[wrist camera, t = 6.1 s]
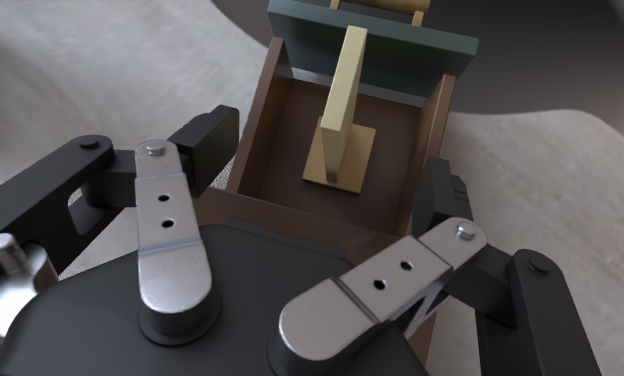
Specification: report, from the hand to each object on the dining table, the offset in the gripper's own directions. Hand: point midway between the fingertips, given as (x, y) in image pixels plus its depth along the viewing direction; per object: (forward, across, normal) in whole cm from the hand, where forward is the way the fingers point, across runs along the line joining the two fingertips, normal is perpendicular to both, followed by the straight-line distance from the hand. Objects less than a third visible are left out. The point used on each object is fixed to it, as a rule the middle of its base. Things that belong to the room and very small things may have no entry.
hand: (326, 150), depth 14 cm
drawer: (+13, 0, +6) cm, 14 cm away
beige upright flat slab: (+10, 0, +6) cm, 12 cm away
